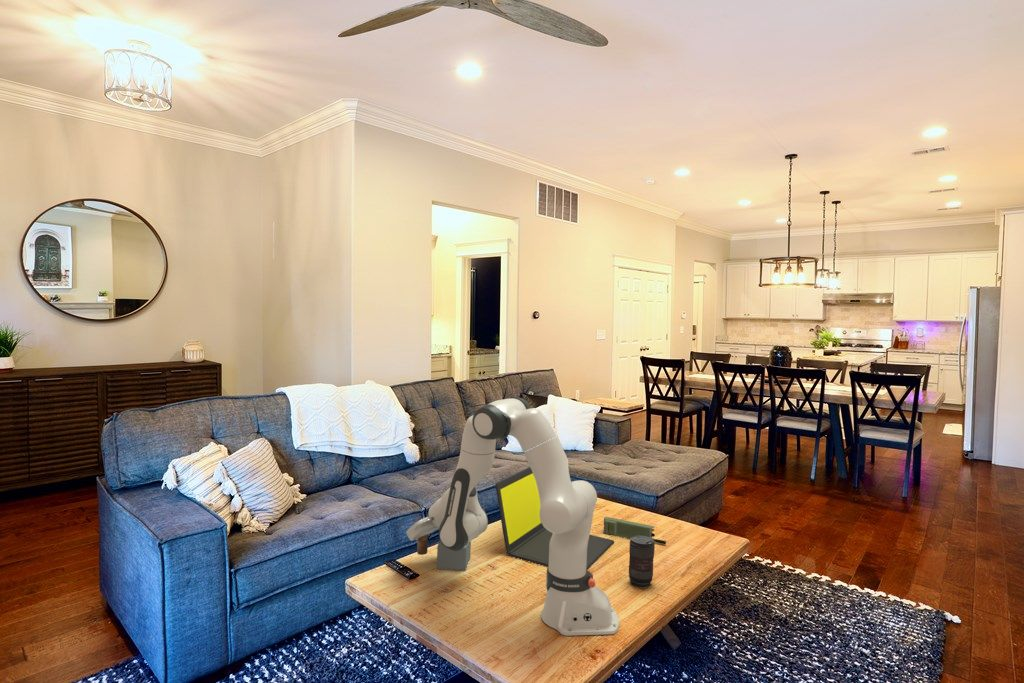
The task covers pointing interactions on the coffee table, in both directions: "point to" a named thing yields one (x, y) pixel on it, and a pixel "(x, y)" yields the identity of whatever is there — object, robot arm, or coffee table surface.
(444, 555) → the socket block
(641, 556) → the camera lens
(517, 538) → the laptop
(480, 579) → the coffee table surface
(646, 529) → the handheld radio
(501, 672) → the coffee table surface
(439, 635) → the coffee table surface
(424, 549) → the walnut peg
